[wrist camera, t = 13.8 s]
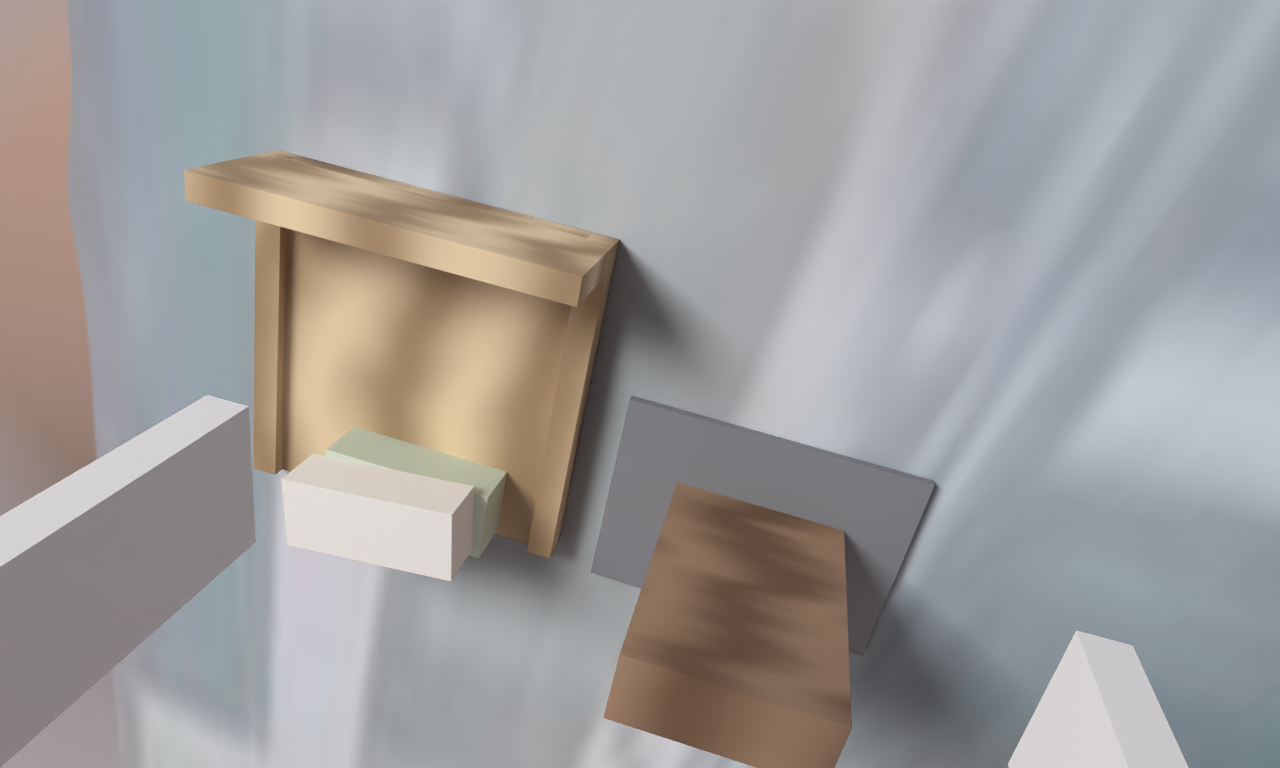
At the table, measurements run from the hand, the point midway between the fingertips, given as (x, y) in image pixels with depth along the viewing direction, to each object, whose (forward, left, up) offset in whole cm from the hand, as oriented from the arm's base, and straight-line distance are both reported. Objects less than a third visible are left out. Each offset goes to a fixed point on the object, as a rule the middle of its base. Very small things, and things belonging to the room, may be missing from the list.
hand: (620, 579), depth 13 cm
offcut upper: (+13, +15, -20) cm, 28 cm away
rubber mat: (-4, +13, -24) cm, 27 cm away
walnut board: (-4, +13, -23) cm, 27 cm away
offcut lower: (+12, +15, -23) cm, 30 cm away
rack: (+13, +9, -24) cm, 29 cm away
